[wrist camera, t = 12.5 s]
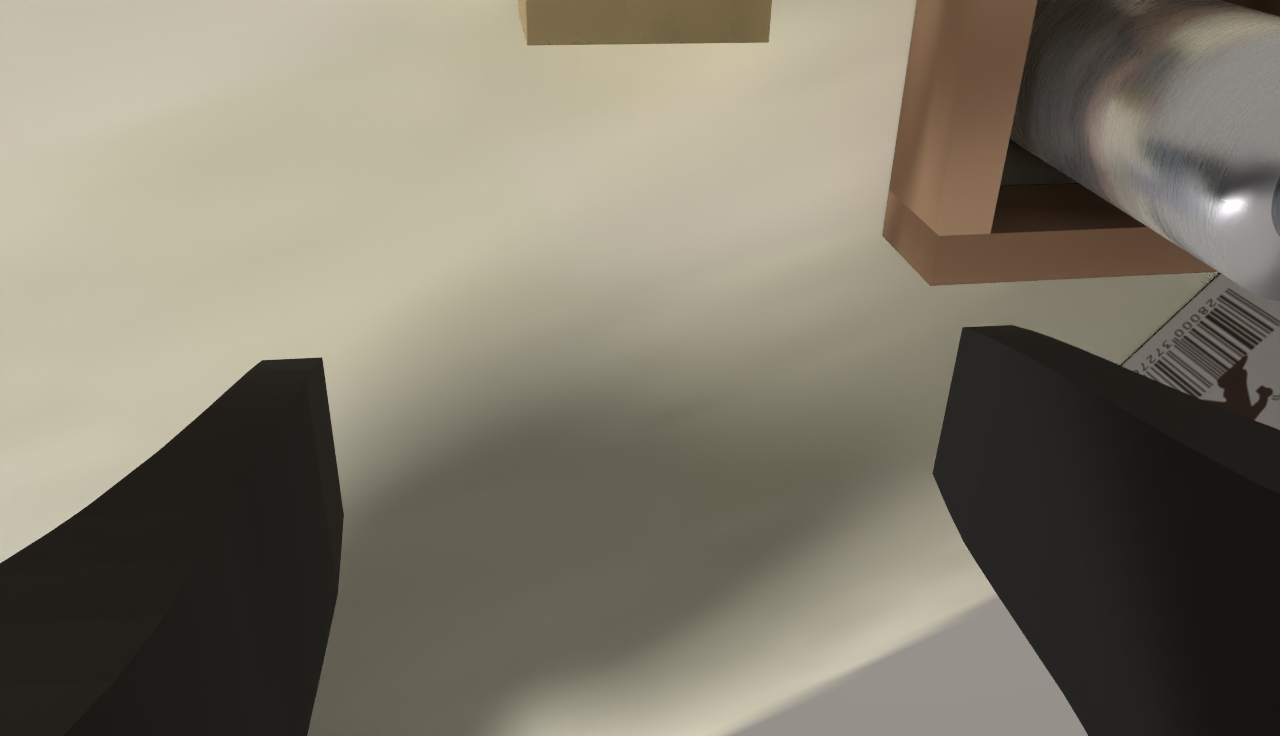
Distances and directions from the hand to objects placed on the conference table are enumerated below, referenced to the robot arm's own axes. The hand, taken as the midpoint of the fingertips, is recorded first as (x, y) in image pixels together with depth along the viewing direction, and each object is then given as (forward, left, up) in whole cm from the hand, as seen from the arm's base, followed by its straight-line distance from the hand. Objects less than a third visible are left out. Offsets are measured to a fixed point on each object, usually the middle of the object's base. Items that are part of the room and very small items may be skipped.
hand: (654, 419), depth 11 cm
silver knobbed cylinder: (+2, -10, -9) cm, 14 cm away
